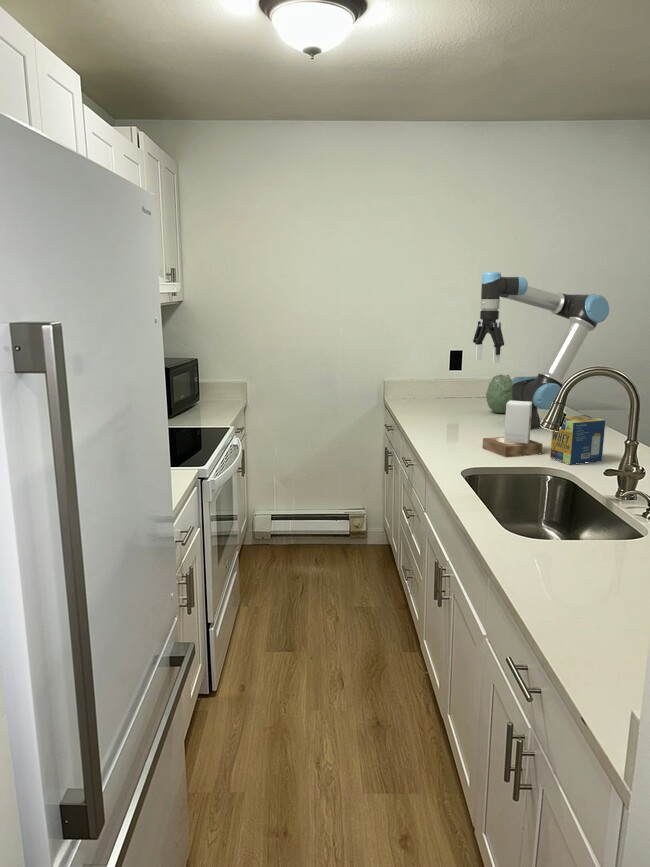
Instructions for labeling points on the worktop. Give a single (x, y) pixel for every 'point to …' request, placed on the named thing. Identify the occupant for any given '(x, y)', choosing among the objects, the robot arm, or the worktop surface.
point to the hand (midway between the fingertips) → (487, 361)
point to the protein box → (578, 440)
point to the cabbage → (499, 393)
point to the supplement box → (518, 422)
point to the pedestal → (511, 447)
